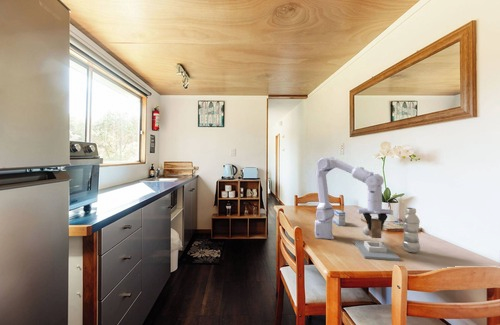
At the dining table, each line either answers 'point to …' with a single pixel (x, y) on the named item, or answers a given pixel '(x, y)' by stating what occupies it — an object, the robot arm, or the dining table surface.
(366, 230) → the tube
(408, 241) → the plastic bottle
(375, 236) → the walnut block
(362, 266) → the dining table surface
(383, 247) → the dock board
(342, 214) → the medicine box
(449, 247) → the dining table surface
